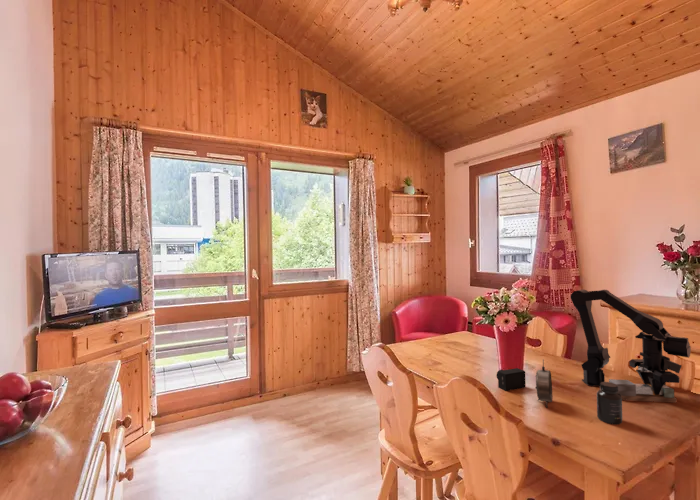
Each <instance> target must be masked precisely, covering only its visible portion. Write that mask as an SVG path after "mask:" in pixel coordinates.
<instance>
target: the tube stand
mask: <svg viewBox="0 0 700 500" xmlns="http://www.w3.org/2000/svg"><path fill="white" fill-rule="evenodd" d="M608 382H611V383H614V384H616V385H618V393H619V394H620V395H621V397H622V401H632V402H635V401H636V402H653V401H654V402H658V403H660V402H661V403H675V404H676V403H677V402H678V401H677V398H676V397H675V389H674V388H672V387H670V386H668V385H665V386H667V387H669V388H670V389H663V392H664V395H651V394H636V385H635V384H636V383H633V382H632V381H630V380H628V379H608Z"/></svg>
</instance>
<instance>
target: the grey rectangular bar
mask: <svg viewBox="0 0 700 500" xmlns="http://www.w3.org/2000/svg"><path fill="white" fill-rule="evenodd" d="M634 384H635V385H636V394H651V395H655V394H654V392H653V389H652V386H651V384H644V383H634ZM667 386H668V385H666V386H665V385H663V386H662V389H661V391H660V393H659V395H664V392H663V389H670V388H671V387H670V386H668V387H667ZM669 387H670V388H669Z"/></svg>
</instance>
